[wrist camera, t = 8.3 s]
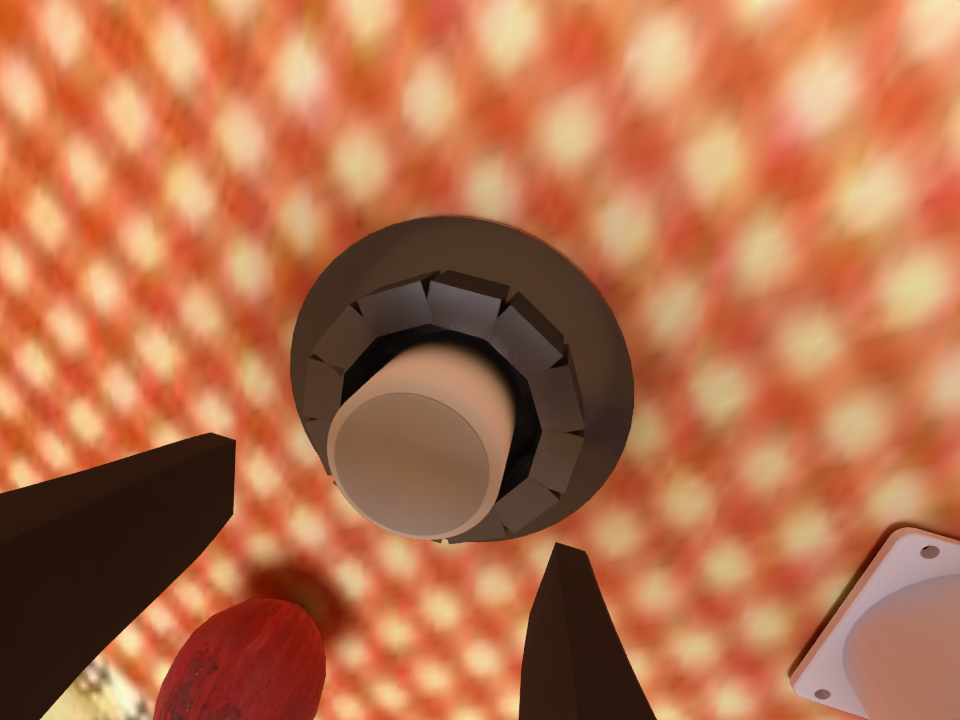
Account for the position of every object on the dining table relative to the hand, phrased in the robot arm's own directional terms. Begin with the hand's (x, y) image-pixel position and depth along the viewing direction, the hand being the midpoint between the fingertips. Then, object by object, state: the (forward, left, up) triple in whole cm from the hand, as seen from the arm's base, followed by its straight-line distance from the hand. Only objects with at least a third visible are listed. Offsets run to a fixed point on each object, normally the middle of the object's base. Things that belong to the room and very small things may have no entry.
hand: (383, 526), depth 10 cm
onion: (+5, +13, -7) cm, 16 cm away
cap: (0, 0, -7) cm, 7 cm away
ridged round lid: (0, 0, -7) cm, 7 cm away
